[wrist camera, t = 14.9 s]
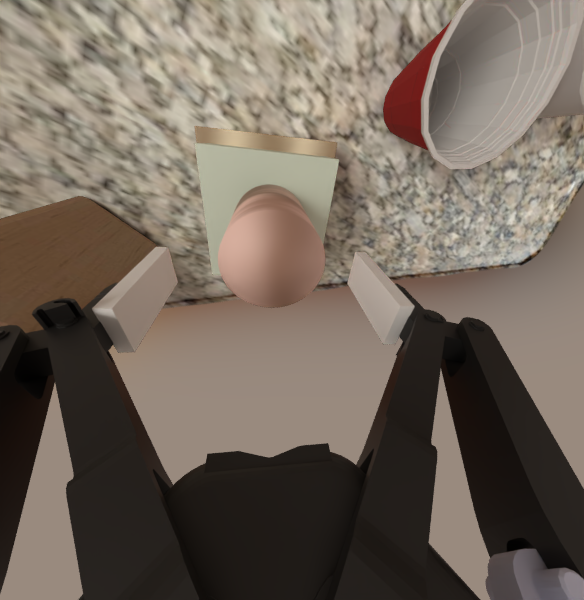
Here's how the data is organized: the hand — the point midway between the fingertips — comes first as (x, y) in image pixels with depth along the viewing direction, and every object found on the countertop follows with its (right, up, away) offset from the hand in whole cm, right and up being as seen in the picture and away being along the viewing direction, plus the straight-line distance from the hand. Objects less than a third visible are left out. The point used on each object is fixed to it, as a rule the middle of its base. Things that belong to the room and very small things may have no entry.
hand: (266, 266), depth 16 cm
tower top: (-1, +8, +10) cm, 13 cm away
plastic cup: (+15, +20, +9) cm, 27 cm away
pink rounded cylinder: (0, +5, +6) cm, 8 cm away
